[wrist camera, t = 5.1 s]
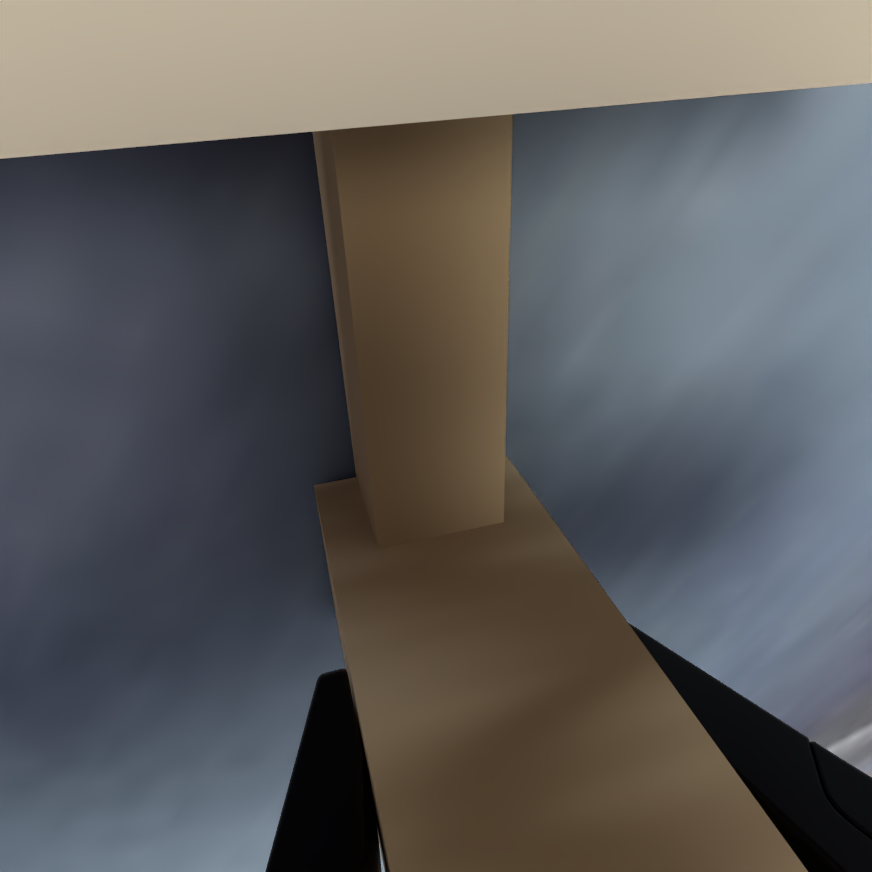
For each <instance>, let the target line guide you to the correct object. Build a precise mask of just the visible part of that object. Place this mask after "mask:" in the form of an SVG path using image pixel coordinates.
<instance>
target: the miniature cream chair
mask: <svg viewBox="0 0 872 872" xmlns="http://www.w3.org/2000/svg"><path fill="white" fill-rule="evenodd" d="M864 83H872V0H0V159H4V158H15V157H27V156H38V155H50V154H61V153H73V152H84V151H96V150H107V149H119V148H130V147H142V146H153V145H164V144H176V143H187V142H199V141H210V140H222V139H233V138H245V137H256V136H268V135H279V134H291V133H302V132H314V131H325V130H336V129H348V128H359V127H371V126H382V125H394V124H405V123H417V122H428V121H440V120H451V119H463V118H474V117H486V116H497V115H508V114H520V113H531V112H543V111H554V110H566V109H577V108H589V107H600V106H612V105H623V104H635V103H646V102H658V101H669V100H680V99H692V98H703V97H715V96H726V95H738V94H749V93H761V92H772V91H784V90H795V89H807V88H818V87H830V86H841V85H852V84H864Z"/></svg>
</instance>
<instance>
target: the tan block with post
mask: <svg viewBox="0 0 872 872" xmlns="http://www.w3.org/2000/svg"><path fill="white" fill-rule="evenodd" d="M512 131H513V114H508V115H497V116H486V117H474V118H463V119H451V120H440V121H428V122H417V123H405V124H394V125H382V126H371V127H359V128H348V129H336V130H325V131H314V132H312V133H313V141H314V148H315V156H316V164H317V172H318V180H319V188H320V196H321V203H322V211H323V219H324V227H325V235H326V243H327V251H328V259H329V266H330V274H331V282H332V290H333V298H334V306H335V314H336V321H337V329H338V337H339V345H340V353H341V361H342V369H343V376H344V384H345V392H346V400H347V408H348V416H349V424H350V432H351V439H352V447H353V455H354V463H355V471H356V477H355V478H349V479H344V480H339V481H333V482H328V483H323V484H318V485H314V490H315V496H316V502H317V508H318V513H319V519H320V525H321V531H322V537H323V543H324V548H325V554H326V560H327V566H328V572H329V578H330V583H331V589H332V595H333V601H334V607H335V613H336V618H337V624H338V630H339V635H340V640H341V645H342V650H343V656H344V661H345V666H346V671H347V673H348V677H349V682H350V687H351V692H352V697H353V702H354V707H355V712H356V717H357V722H358V727H359V732H360V737H361V742H362V748H363V753H364V758H365V763H366V768H367V773H368V778H369V783H370V788H371V794H372V799H373V805H374V811H375V816H376V822H377V829H378V838H379V843H380V848H381V853H382V859H383V864H384V869H385V872H808V871H807V870H806V868H805V867H804V865H803V864H802V863H801V861H800V860H799V858H798V857H797V856H796V854H795V853H794V852H793V850H792V849H791V847H790V846H789V845H788V843H787V842H786V841H785V839H784V838H783V836H782V835H781V834H780V832H779V831H778V829H777V828H776V827H775V825H774V824H773V823H772V821H771V820H770V818H769V817H768V816H767V814H766V813H765V812H764V810H763V809H762V807H761V806H760V805H759V803H758V802H757V800H756V799H755V798H754V796H753V795H752V794H751V792H750V791H749V789H748V788H747V787H746V785H745V784H744V783H743V781H742V780H741V778H740V777H739V776H738V774H737V773H736V772H735V770H734V769H733V767H732V766H731V765H730V763H729V762H728V760H727V759H726V758H725V756H724V755H723V754H722V752H721V751H720V749H719V748H718V747H717V745H716V744H715V743H714V741H713V740H712V738H711V737H710V736H709V734H708V733H707V731H706V730H705V729H704V727H703V726H702V725H701V723H700V722H699V720H698V719H697V718H696V716H695V715H694V714H693V712H692V711H691V709H690V708H689V707H688V705H687V704H686V702H685V701H684V700H683V698H682V697H681V696H680V694H679V693H678V691H677V690H676V689H675V687H674V686H673V685H672V683H671V682H670V680H669V679H668V678H667V676H666V675H665V674H664V672H663V671H662V669H661V668H660V667H659V665H658V664H657V662H656V661H655V660H654V658H653V657H652V656H651V654H650V653H649V651H648V650H647V649H646V647H645V646H644V645H643V643H642V642H641V640H640V639H639V638H638V636H637V635H636V633H635V632H634V631H633V629H632V628H631V627H630V625H629V624H628V622H627V621H626V620H625V618H624V617H623V616H622V614H621V613H620V611H619V610H618V609H617V607H616V606H615V604H614V603H613V602H612V600H611V599H610V598H609V596H608V595H607V593H606V592H605V591H604V589H603V588H602V587H601V585H600V584H599V582H598V581H597V580H596V578H595V577H594V576H593V574H592V573H591V571H590V570H589V569H588V567H587V566H586V564H585V563H584V562H583V560H582V559H581V558H580V556H579V555H578V553H577V552H576V551H575V549H574V548H573V547H572V545H571V544H570V542H569V541H568V540H567V538H566V537H565V535H564V534H563V533H562V531H561V530H560V529H559V527H558V526H557V524H556V523H555V522H554V520H553V519H552V518H551V516H550V515H549V513H548V512H547V511H546V509H545V508H544V506H543V505H542V504H541V502H540V501H539V500H538V498H537V497H536V495H535V494H534V493H533V491H532V490H531V489H530V487H529V486H528V484H527V483H526V482H525V480H524V479H523V478H522V476H521V475H520V473H519V472H518V471H517V469H516V468H515V466H514V465H513V464H512V462H511V461H510V460H509V458H508V457H507V455H506V454H505V445H506V401H507V356H508V311H509V266H510V221H511V176H512Z"/></svg>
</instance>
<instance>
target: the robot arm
mask: <svg viewBox="0 0 872 872" xmlns="http://www.w3.org/2000/svg"><path fill="white" fill-rule="evenodd" d="M628 624H629V623H628ZM629 625H630V627H631V628H632V629H633V631H634V632H635V633H636V635H637V636H638V638H639V639H640V640H641V642H642V643H643V645H644V646H645V647H646V649H647V650H648V651H649V653H650V654H651V656H652V657H653V658H654V660H655V661H656V662H657V664H658V665H659V667H660V668H661V669H662V671H663V672H664V674H665V675H666V676H667V678H668V679H669V680H670V682H671V683H672V685H673V686H674V687H675V689H676V690H677V691H678V693H679V694H680V696H681V697H682V698H683V700H684V701H685V702H686V704H687V705H688V707H689V708H690V709H691V711H692V712H693V714H694V715H695V716H696V718H697V719H698V720H699V722H700V723H701V725H702V726H703V727H704V729H705V730H706V731H707V733H708V734H709V736H710V737H711V738H712V740H713V741H714V743H715V744H716V745H717V747H718V748H719V749H720V751H721V752H722V754H723V755H724V756H725V758H726V759H727V760H728V762H729V763H730V765H731V766H732V767H733V769H734V770H735V772H736V773H737V774H738V776H739V777H740V778H741V780H742V781H743V783H744V784H745V785H746V787H747V788H748V789H749V791H750V792H751V794H752V795H753V796H754V798H755V799H756V800H757V802H758V803H759V805H760V806H761V807H762V809H763V810H764V812H765V813H766V814H767V816H768V817H769V818H770V820H771V821H772V823H773V824H774V825H775V827H776V828H777V829H778V831H779V832H780V834H781V835H782V836H783V838H784V839H785V841H786V842H787V843H788V845H789V846H790V847H791V849H792V850H793V852H794V853H795V854H796V856H797V857H798V858H799V860H800V861H801V863H802V864H803V865H804V867H805V868H806V870H807V871H808V872H872V777H870V776H868V775H867V774H865V773H863V772H862V771H860V770H859V769H857V768H855V767H854V766H852V765H850V764H849V763H847V762H846V761H844V760H842V759H841V758H839V757H838V756H836V755H834V754H833V753H831V752H830V751H828V750H827V749H825V748H823V747H822V746H820V745H819V744H817V743H816V742H813V741H812V742H809V739H808V738H807V737H806V736H804V735H803V734H801V733H800V732H798V731H797V730H795V729H793V728H792V727H790V726H789V725H787V724H786V723H784V722H782V721H781V720H779V719H778V718H776V717H775V716H773V715H772V714H770V713H768V712H767V711H765V710H764V709H762V708H761V707H759V706H757V705H756V704H754V703H753V702H751V701H750V700H748V699H747V698H745V697H743V696H742V695H740V694H739V693H737V692H736V691H734V690H732V689H731V688H729V687H728V686H726V685H725V684H723V683H721V682H720V681H718V680H717V679H715V678H714V677H712V676H711V675H709V674H707V673H706V672H704V671H703V670H701V669H700V668H698V667H696V666H695V665H693V664H692V663H690V662H689V661H687V660H686V659H684V658H682V657H681V656H679V655H678V654H676V653H675V652H673V651H671V650H670V649H668V648H667V647H665V646H664V645H662V644H661V643H659V642H657V641H656V640H654V639H653V638H651V637H650V636H648V635H646V634H645V633H643V632H642V631H640V630H639V629H637V628H636V627H634V626H632V625H631V624H629ZM266 872H381V861H380V849H379V838H378V829H377V822H376V816H375V811H374V805H373V799H372V794H371V788H370V783H369V778H368V773H367V768H366V763H365V758H364V753H363V748H362V742H361V737H360V732H359V727H358V722H357V717H356V712H355V707H354V702H353V697H352V692H351V687H350V682H349V677H348V673H347V671H346V670H345V669H338V670H335V671H331V672H327V673H324V674H321V675H320V676H319V678H318V680H317V683H316V687H315V690H314V694H313V698H312V701H311V705H310V709H309V713H308V716H307V720H306V724H305V727H304V731H303V735H302V738H301V742H300V746H299V750H298V753H297V757H296V761H295V764H294V768H293V772H292V775H291V779H290V783H289V787H288V790H287V794H286V798H285V801H284V805H283V809H282V812H281V816H280V820H279V824H278V827H277V831H276V835H275V838H274V842H273V846H272V849H271V853H270V857H269V861H268V864H267V868H266Z"/></svg>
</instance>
